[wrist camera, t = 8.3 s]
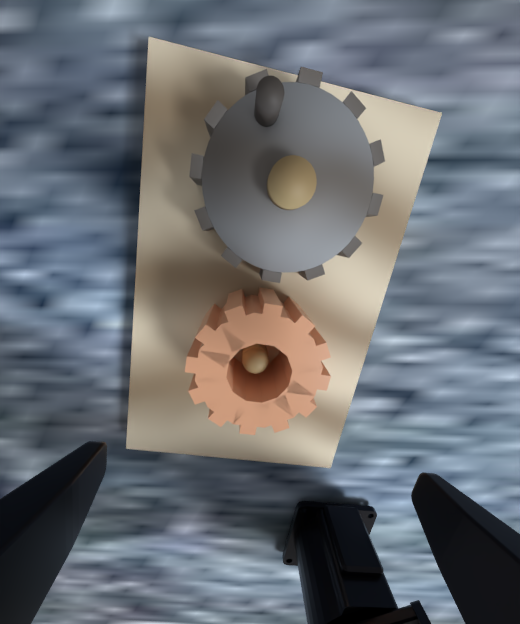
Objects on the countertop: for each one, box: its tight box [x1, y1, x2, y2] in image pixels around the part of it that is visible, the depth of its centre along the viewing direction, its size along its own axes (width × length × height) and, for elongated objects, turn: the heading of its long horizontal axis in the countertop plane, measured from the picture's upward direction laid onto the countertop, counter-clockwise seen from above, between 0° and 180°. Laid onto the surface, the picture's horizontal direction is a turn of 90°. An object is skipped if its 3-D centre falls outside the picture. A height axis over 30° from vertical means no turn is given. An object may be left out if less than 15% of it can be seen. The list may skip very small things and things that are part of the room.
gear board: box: [126, 37, 442, 468], centre depth 14 cm, size 22×14×5 cm, turn 170°
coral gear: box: [185, 287, 331, 435], centre depth 14 cm, size 7×7×4 cm
